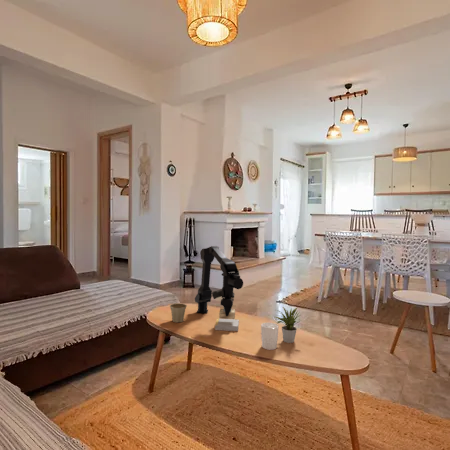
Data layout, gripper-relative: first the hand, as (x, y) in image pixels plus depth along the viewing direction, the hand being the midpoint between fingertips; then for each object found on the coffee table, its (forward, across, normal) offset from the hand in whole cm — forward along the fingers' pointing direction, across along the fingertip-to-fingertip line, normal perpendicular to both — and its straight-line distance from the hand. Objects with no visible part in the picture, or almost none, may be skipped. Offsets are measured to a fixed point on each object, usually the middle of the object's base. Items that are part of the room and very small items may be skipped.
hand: (227, 314), depth 173 cm
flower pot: (+7, -5, -28) cm, 29 cm away
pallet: (+2, 0, 0) cm, 2 cm away
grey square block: (-2, 0, 0) cm, 2 cm away
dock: (+7, 0, 0) cm, 7 cm away
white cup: (+7, +24, +21) cm, 32 cm away
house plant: (+7, +14, +31) cm, 35 cm away
